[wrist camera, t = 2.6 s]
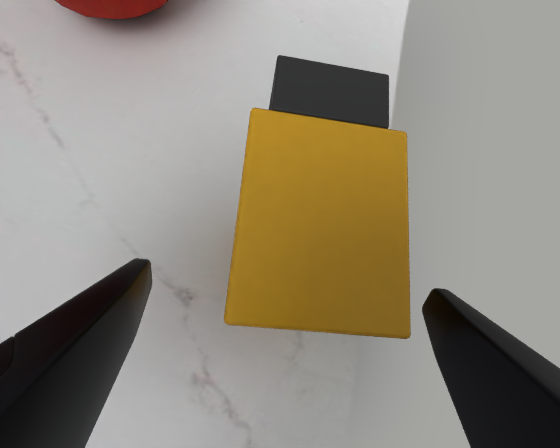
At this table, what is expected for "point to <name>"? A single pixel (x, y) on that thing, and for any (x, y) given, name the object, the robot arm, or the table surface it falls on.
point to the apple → (112, 7)
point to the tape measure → (323, 208)
